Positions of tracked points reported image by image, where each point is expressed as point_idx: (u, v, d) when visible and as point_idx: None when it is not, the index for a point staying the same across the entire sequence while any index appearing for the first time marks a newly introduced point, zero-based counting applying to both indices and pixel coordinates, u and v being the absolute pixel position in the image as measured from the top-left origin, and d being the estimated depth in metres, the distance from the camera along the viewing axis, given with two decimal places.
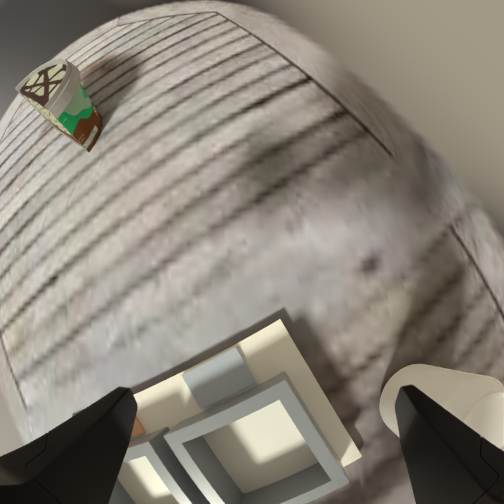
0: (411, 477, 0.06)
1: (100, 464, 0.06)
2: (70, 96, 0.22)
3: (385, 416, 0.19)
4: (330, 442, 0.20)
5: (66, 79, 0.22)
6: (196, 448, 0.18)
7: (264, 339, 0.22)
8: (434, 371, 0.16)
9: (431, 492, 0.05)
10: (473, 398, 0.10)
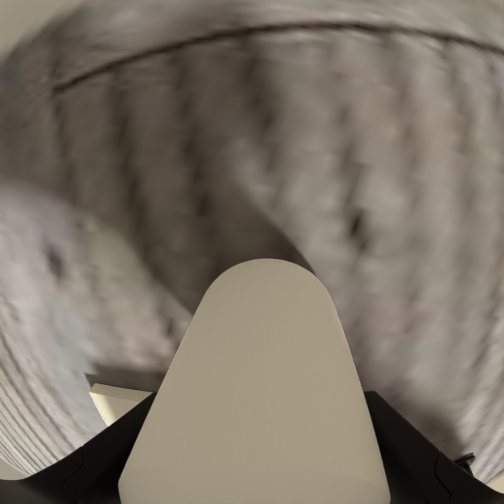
0: None
1: None
2: None
3: None
4: None
5: None
6: None
7: (106, 412, 0.17)
8: None
9: None
10: None
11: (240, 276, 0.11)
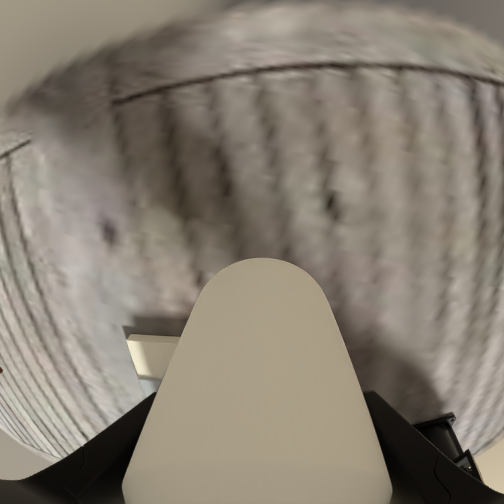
0: None
1: None
2: None
3: None
4: None
5: None
6: None
7: (139, 358, 0.23)
8: None
9: None
10: None
11: (236, 275, 0.11)
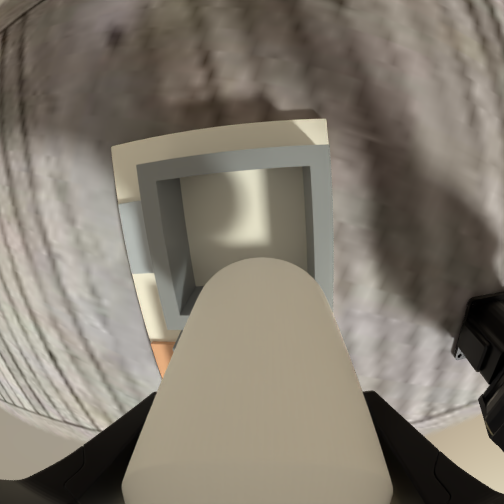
0: None
1: None
2: None
3: None
4: (280, 146, 0.17)
5: None
6: None
7: (123, 171, 0.18)
8: None
9: None
10: None
11: (236, 275, 0.11)
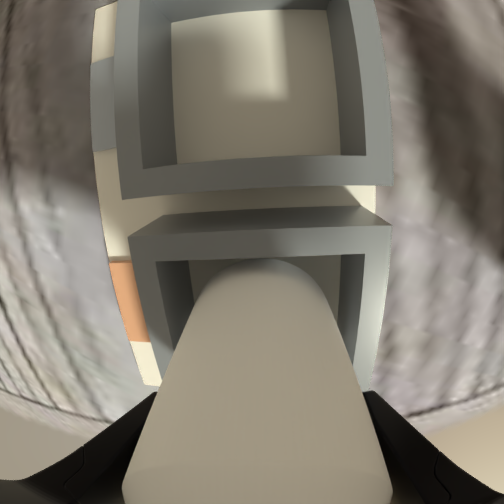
0: None
1: None
2: None
3: None
4: None
5: None
6: (186, 163, 0.11)
7: (104, 30, 0.11)
8: None
9: None
10: None
11: (236, 276, 0.11)
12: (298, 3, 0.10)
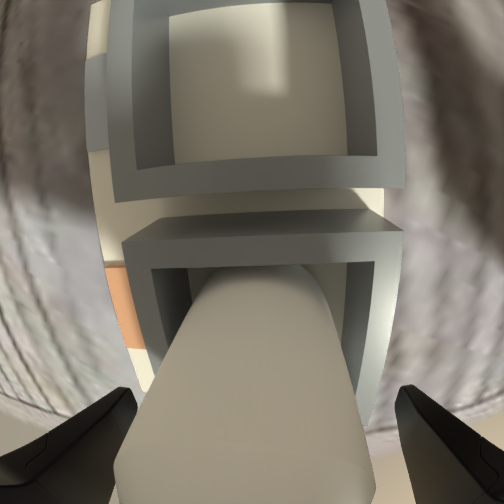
0: (411, 477, 0.06)
1: (100, 464, 0.06)
2: None
3: None
4: None
5: None
6: (184, 163, 0.10)
7: (99, 25, 0.11)
8: None
9: (431, 492, 0.05)
10: None
11: (235, 271, 0.11)
12: None
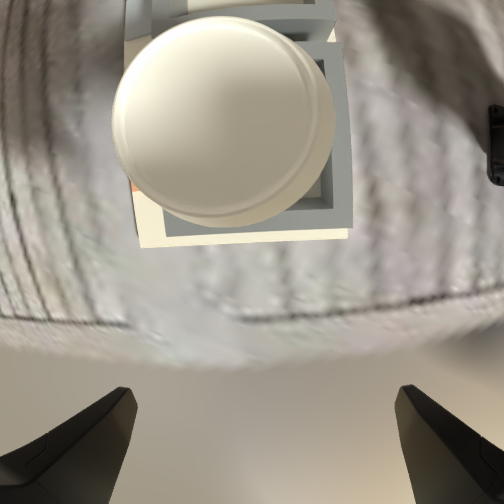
0: (411, 477, 0.06)
1: (100, 464, 0.06)
2: None
3: None
4: None
5: None
6: None
7: None
8: None
9: (431, 492, 0.05)
10: (119, 122, 0.07)
11: None
12: None
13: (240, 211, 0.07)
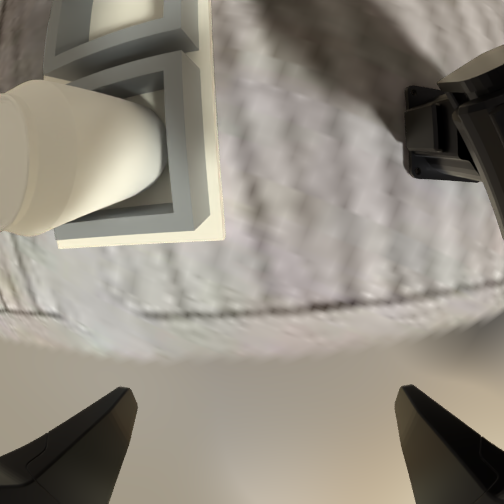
0: (411, 477, 0.06)
1: (100, 464, 0.06)
2: None
3: None
4: None
5: None
6: None
7: None
8: None
9: (431, 492, 0.05)
10: None
11: None
12: None
13: (4, 228, 0.07)
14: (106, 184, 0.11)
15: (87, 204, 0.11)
